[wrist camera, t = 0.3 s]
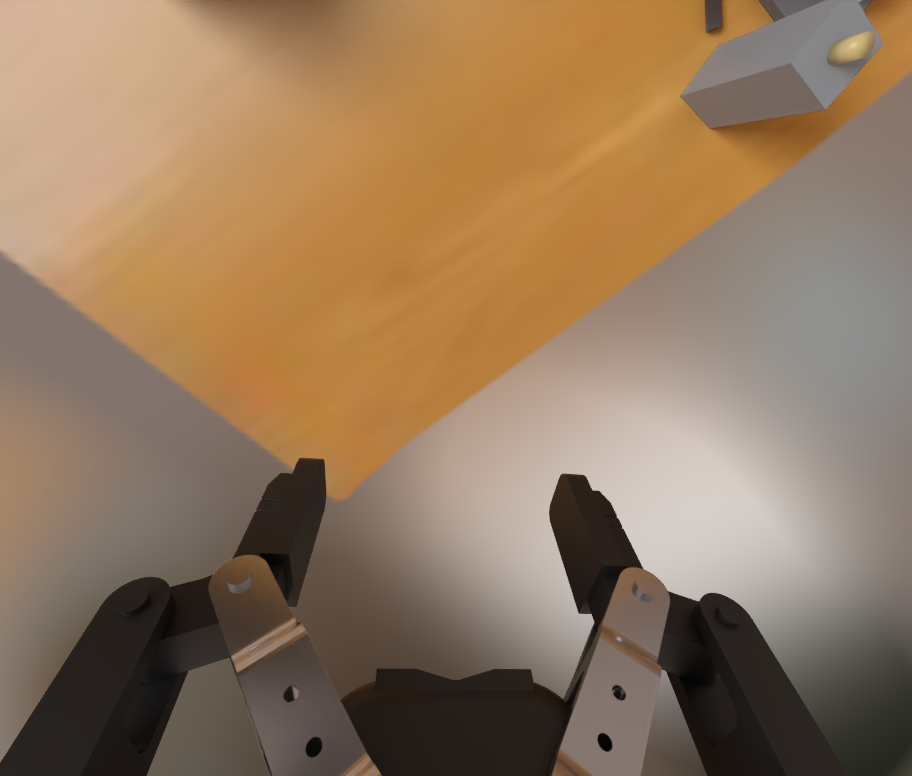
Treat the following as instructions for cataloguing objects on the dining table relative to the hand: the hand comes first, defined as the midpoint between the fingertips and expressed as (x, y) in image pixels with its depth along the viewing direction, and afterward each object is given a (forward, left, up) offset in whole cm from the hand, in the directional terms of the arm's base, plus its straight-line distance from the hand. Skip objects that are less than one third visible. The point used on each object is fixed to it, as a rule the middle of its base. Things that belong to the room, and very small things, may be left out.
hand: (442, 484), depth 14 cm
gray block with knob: (-18, +24, -28) cm, 41 cm away
